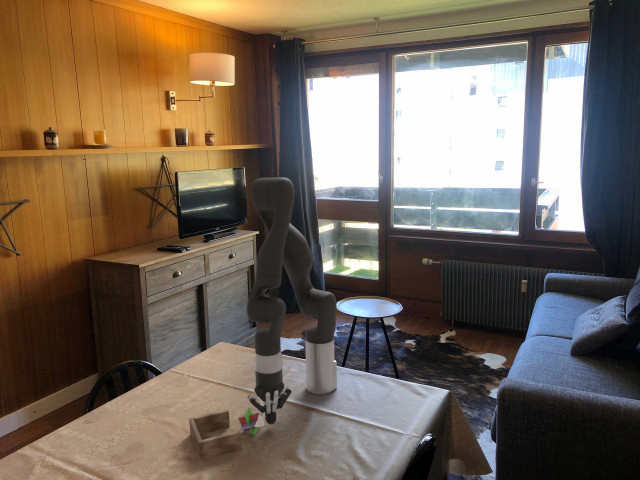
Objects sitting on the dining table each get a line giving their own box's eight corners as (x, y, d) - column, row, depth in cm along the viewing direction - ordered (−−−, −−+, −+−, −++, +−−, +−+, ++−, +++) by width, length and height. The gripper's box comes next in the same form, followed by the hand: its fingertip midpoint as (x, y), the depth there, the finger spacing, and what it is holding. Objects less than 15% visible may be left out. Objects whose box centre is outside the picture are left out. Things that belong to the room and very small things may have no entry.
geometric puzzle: (229, 430, 142) (244, 410, 140) (238, 416, 149) (253, 398, 147) (249, 446, 142) (265, 427, 140) (257, 432, 149) (273, 414, 146)
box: (228, 425, 149) (228, 409, 148) (241, 449, 137) (240, 432, 136) (190, 434, 144) (189, 418, 143) (200, 460, 133) (198, 443, 132)
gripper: (285, 356, 149) (287, 411, 153) (241, 365, 144) (244, 422, 147) (295, 366, 143) (297, 423, 146) (249, 376, 137) (252, 435, 141)
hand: (270, 422), depth 147 cm, fingers closed
